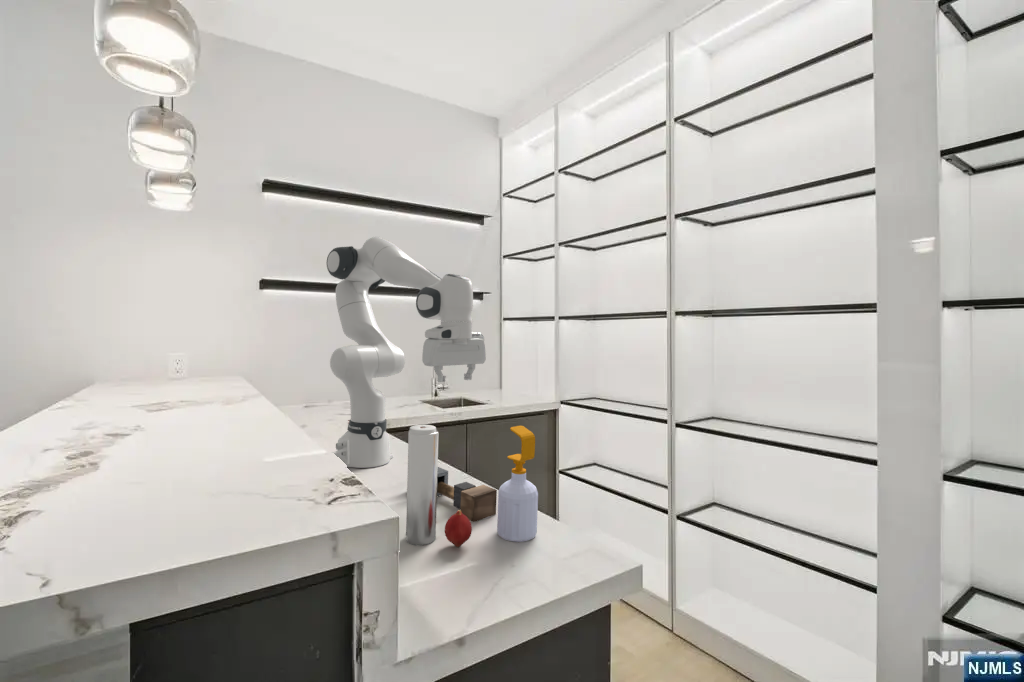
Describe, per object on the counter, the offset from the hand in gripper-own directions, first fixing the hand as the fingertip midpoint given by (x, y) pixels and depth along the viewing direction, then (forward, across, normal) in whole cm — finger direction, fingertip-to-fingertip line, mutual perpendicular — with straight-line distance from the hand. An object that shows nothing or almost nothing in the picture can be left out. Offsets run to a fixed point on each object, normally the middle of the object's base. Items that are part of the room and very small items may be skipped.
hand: (454, 381), depth 135 cm
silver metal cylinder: (+31, +24, +20) cm, 44 cm away
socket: (+31, +6, +18) cm, 37 cm away
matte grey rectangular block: (+31, +6, -2) cm, 32 cm away
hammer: (+31, +6, +11) cm, 33 cm away
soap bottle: (+31, +6, +32) cm, 45 cm away
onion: (+31, +20, +28) cm, 46 cm away
